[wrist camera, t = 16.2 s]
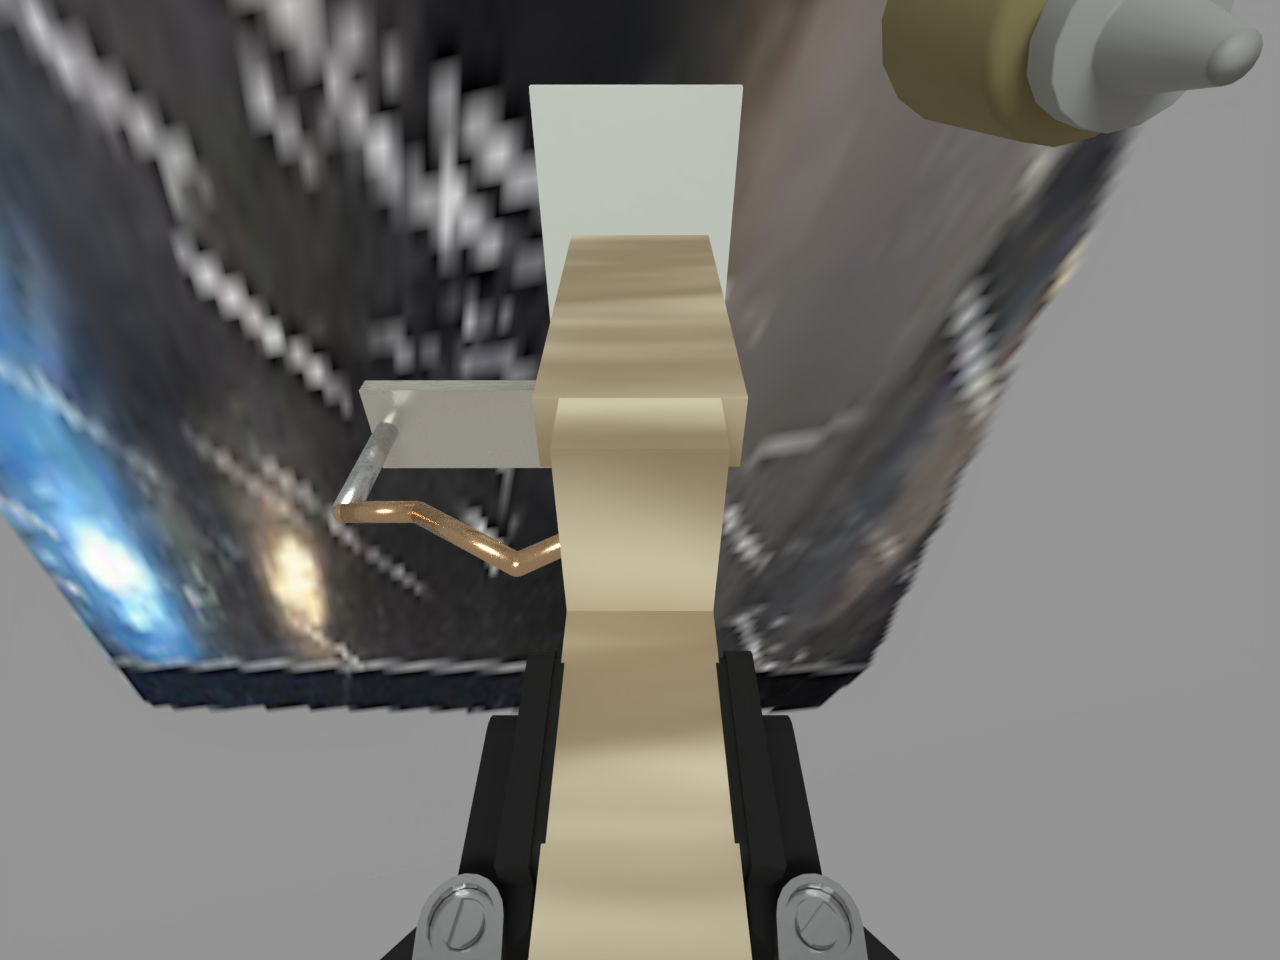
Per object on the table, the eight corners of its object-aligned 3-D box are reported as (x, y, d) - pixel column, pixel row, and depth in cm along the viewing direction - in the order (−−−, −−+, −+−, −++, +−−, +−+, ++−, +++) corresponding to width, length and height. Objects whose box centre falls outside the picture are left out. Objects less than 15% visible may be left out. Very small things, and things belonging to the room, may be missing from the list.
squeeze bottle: (879, 140, 33) (1060, 282, 19) (836, -48, 28) (1032, -47, 14) (1054, 56, 31) (1406, 146, 17) (1037, -162, 26) (1506, -295, 12)
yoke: (571, 235, 19) (429, 820, 6) (708, 235, 19) (851, 820, 6) (589, 520, 26) (540, 1075, 13) (690, 520, 26) (739, 1075, 13)
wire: (365, 380, 41) (270, 529, 31) (717, 379, 41) (744, 528, 31) (388, 457, 45) (310, 613, 34) (710, 456, 45) (732, 612, 34)
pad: (530, 84, 31) (528, 86, 31) (741, 84, 31) (743, 86, 31) (554, 351, 40) (553, 356, 39) (719, 351, 40) (720, 355, 40)
